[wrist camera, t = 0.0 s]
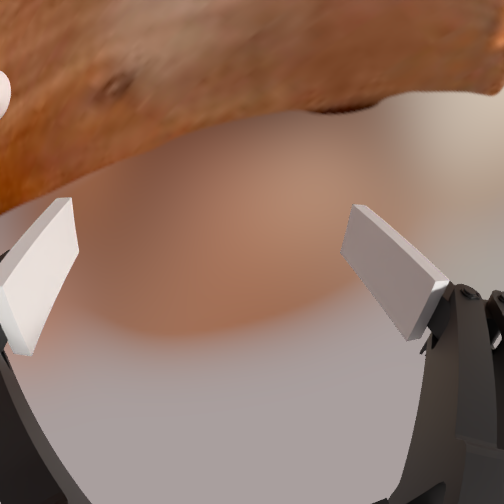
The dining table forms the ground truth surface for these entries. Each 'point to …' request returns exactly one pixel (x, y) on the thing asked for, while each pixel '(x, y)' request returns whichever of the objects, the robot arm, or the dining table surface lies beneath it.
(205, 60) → the dining table surface
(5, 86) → the mug
